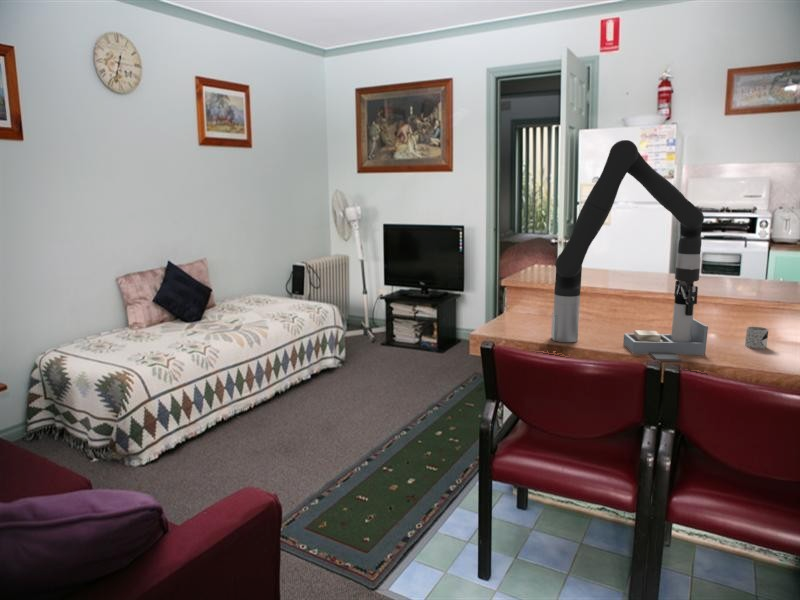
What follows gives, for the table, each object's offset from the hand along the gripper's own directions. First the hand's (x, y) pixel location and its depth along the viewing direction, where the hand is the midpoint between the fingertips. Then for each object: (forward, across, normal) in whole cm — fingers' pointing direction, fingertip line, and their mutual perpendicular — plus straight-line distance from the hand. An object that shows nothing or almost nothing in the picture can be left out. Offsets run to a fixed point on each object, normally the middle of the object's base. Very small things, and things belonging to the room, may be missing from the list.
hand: (683, 312), depth 211 cm
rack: (+13, 0, -6) cm, 15 cm away
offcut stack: (+13, 0, -11) cm, 18 cm away
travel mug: (+14, 0, 0) cm, 14 cm away
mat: (+13, +11, -9) cm, 20 cm away
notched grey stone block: (+14, -8, +29) cm, 33 cm away
